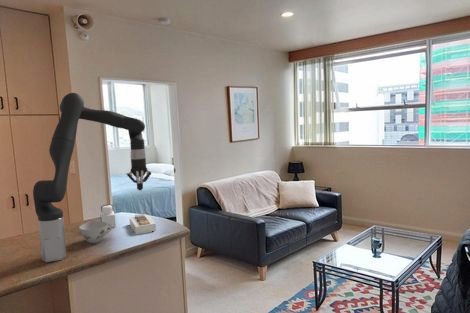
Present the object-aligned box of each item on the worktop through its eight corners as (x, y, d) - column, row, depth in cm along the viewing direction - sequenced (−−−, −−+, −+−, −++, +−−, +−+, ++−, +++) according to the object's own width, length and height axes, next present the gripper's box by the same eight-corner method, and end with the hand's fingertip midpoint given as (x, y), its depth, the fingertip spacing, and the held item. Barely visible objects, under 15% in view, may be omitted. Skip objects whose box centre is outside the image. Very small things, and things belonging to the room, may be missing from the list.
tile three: (144, 220, 182) (144, 215, 182) (136, 221, 180) (136, 216, 180) (143, 218, 186) (143, 213, 186) (135, 219, 184) (134, 214, 184)
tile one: (149, 226, 171) (149, 221, 171) (141, 227, 169) (140, 222, 169) (147, 223, 175) (147, 219, 175) (139, 225, 173) (139, 220, 173)
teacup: (86, 248, 151) (84, 231, 150) (76, 241, 160) (75, 225, 159) (118, 239, 161) (117, 223, 160) (107, 233, 170) (106, 218, 169)
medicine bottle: (101, 225, 183) (99, 204, 182) (114, 223, 186) (113, 202, 185) (101, 229, 177) (100, 207, 175) (115, 227, 180) (114, 205, 178)
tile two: (147, 223, 177) (146, 218, 176) (138, 224, 175) (138, 219, 174) (145, 221, 181) (145, 216, 180) (137, 222, 179) (136, 217, 178)
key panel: (155, 231, 172) (155, 223, 171) (136, 234, 167) (135, 226, 167) (148, 221, 189) (147, 214, 188) (129, 224, 184) (129, 217, 184)
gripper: (126, 159, 168) (128, 192, 170) (152, 157, 174) (154, 189, 176) (124, 158, 174) (126, 190, 176) (149, 156, 180) (151, 187, 182)
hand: (140, 190), depth 176 cm, fingers closed
